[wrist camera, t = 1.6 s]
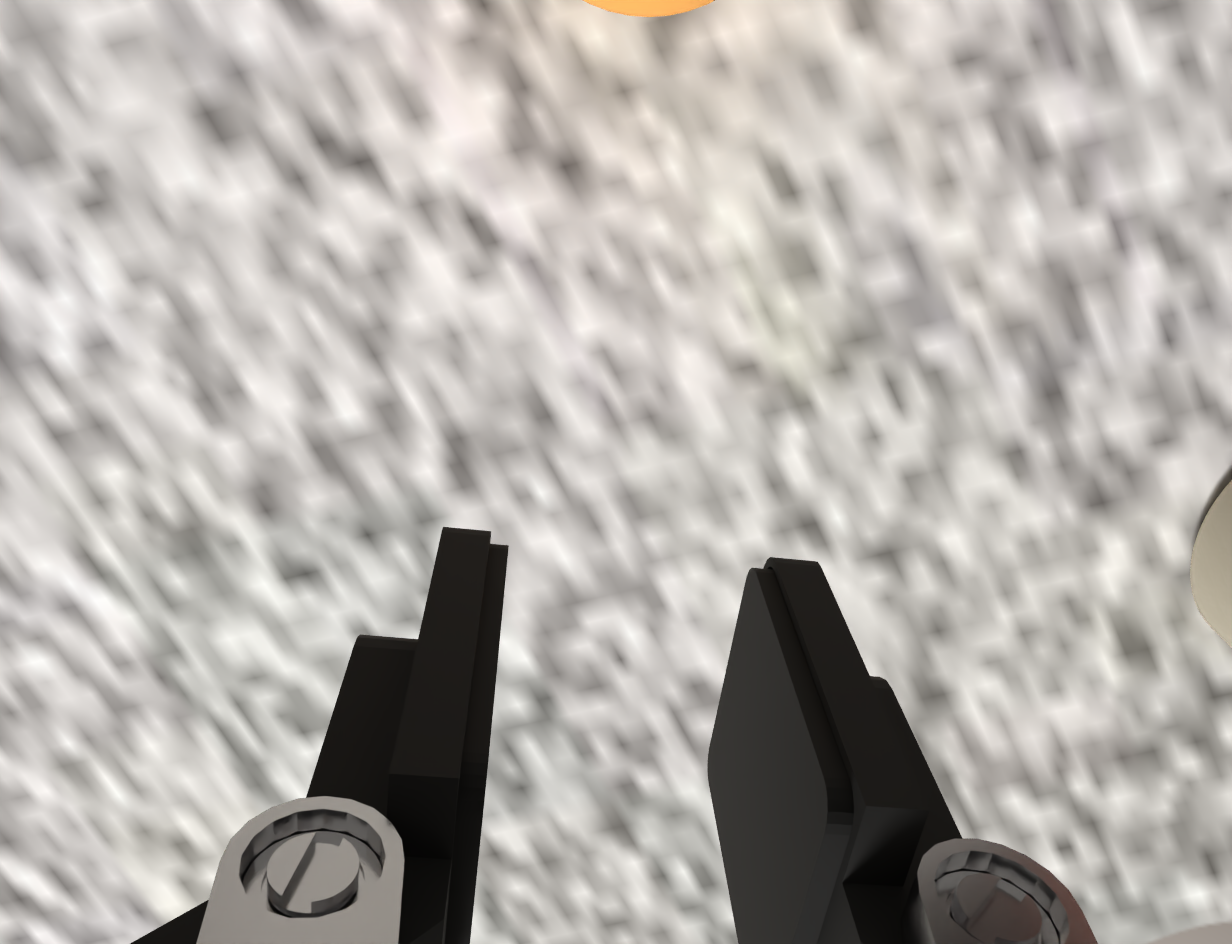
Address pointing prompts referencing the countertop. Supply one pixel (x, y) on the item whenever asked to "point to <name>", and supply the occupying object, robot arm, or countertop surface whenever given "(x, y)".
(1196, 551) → the travel mug
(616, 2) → the ball
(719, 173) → the countertop surface
